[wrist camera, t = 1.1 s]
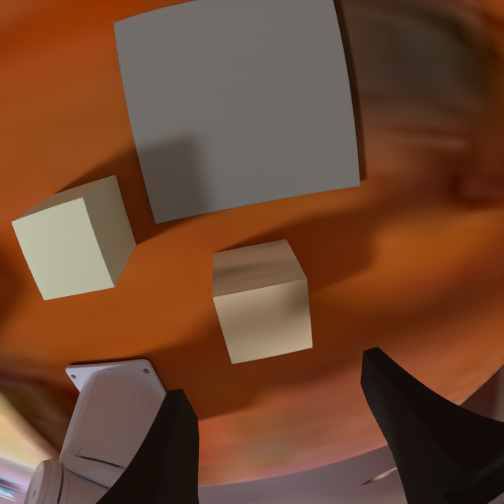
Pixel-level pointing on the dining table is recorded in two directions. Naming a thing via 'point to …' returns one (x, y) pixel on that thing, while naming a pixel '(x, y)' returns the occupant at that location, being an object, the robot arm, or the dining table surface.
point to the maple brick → (261, 301)
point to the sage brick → (77, 239)
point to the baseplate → (237, 103)
